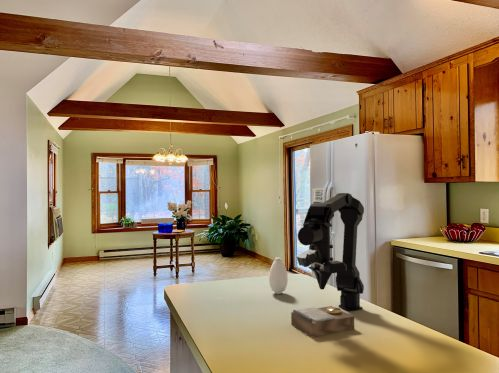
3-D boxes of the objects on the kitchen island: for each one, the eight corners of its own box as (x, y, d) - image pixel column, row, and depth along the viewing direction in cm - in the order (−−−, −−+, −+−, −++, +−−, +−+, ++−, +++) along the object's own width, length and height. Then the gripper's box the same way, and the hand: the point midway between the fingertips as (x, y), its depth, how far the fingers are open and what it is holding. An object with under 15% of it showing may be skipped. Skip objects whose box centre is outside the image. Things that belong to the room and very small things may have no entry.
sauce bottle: (266, 292, 164) (265, 251, 164) (281, 290, 167) (281, 249, 168) (274, 297, 157) (274, 253, 157) (291, 294, 160) (290, 252, 160)
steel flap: (314, 308, 128) (314, 307, 128) (334, 318, 117) (334, 316, 117) (296, 312, 125) (296, 310, 125) (315, 322, 115) (315, 320, 115)
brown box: (331, 317, 131) (331, 303, 131) (354, 328, 120) (354, 313, 120) (291, 324, 124) (291, 309, 124) (311, 337, 113) (311, 320, 114)
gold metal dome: (335, 320, 127) (335, 306, 127) (343, 325, 123) (343, 310, 123) (323, 322, 125) (323, 308, 125) (332, 327, 121) (332, 312, 121)
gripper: (285, 240, 129) (286, 285, 129) (316, 247, 112) (317, 300, 112) (313, 237, 134) (313, 281, 134) (347, 244, 117) (347, 295, 117)
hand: (321, 289), depth 124 cm, fingers closed
